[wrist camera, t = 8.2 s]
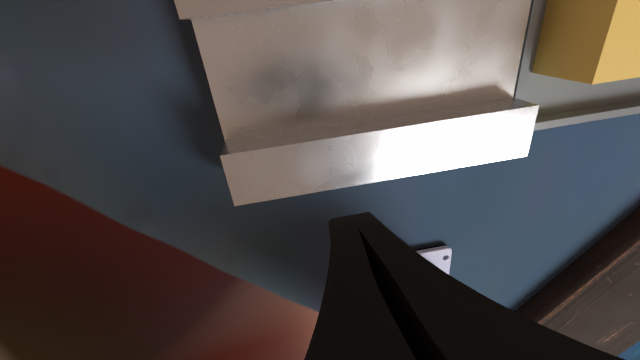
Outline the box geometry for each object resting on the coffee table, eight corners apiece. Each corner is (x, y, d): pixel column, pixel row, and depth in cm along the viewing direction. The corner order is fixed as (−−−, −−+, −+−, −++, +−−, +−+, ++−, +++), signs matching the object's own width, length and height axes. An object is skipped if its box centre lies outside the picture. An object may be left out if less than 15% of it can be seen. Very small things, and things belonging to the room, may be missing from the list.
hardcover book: (745, 230, 31) (779, 244, 29) (565, 361, 38) (581, 380, 36) (686, 157, 25) (722, 168, 23) (486, 328, 32) (500, 349, 30)
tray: (653, 102, 22) (676, 107, 20) (493, 128, 21) (507, 134, 19) (736, -102, 16) (774, -112, 15) (528, -79, 15) (550, -88, 14)
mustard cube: (591, 63, 19) (663, 73, 16) (531, 72, 19) (591, 84, 15) (613, -11, 17) (701, -20, 14) (547, -3, 17) (620, -9, 13)
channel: (488, 135, 21) (527, 156, 18) (240, 176, 20) (234, 206, 16) (525, -91, 15) (591, -120, 12) (178, -54, 14) (151, -76, 11)
